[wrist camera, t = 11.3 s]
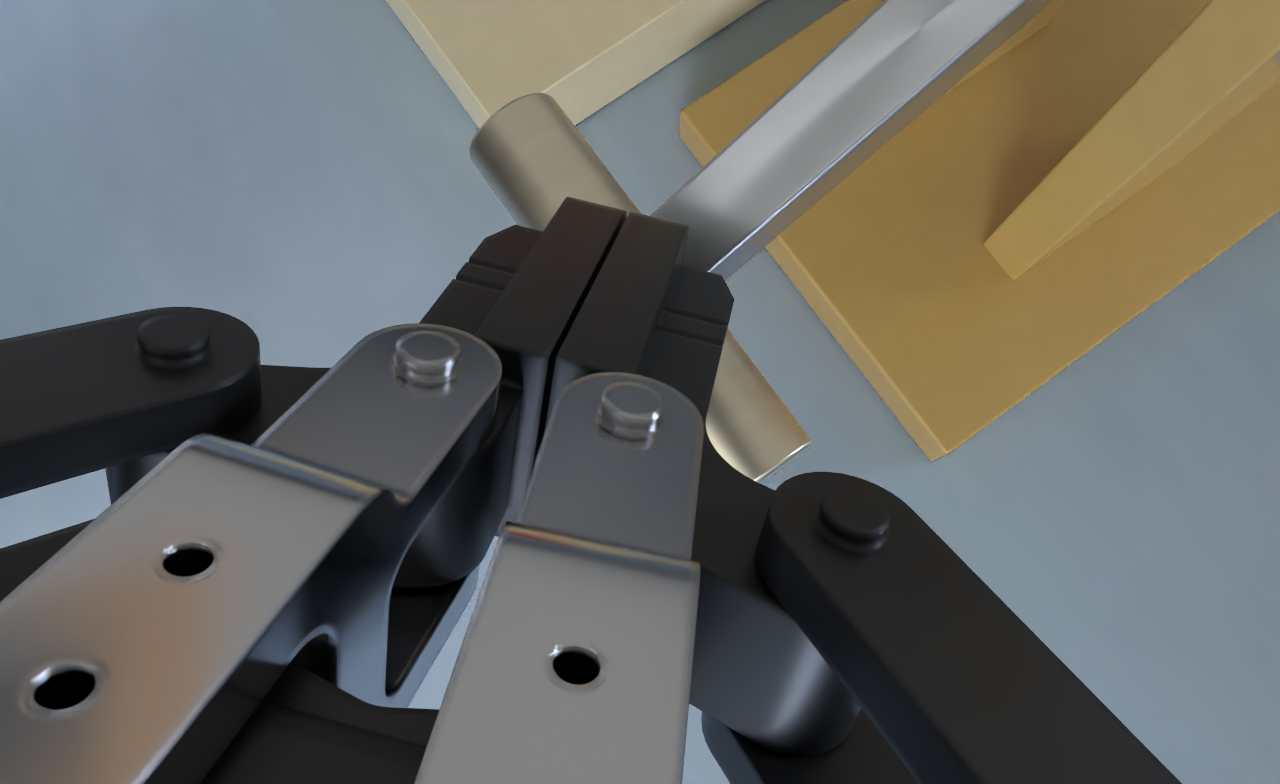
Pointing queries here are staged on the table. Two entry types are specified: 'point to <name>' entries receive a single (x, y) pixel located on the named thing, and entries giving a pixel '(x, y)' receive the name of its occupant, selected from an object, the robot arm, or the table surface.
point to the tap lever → (761, 173)
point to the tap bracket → (1027, 196)
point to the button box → (557, 46)
